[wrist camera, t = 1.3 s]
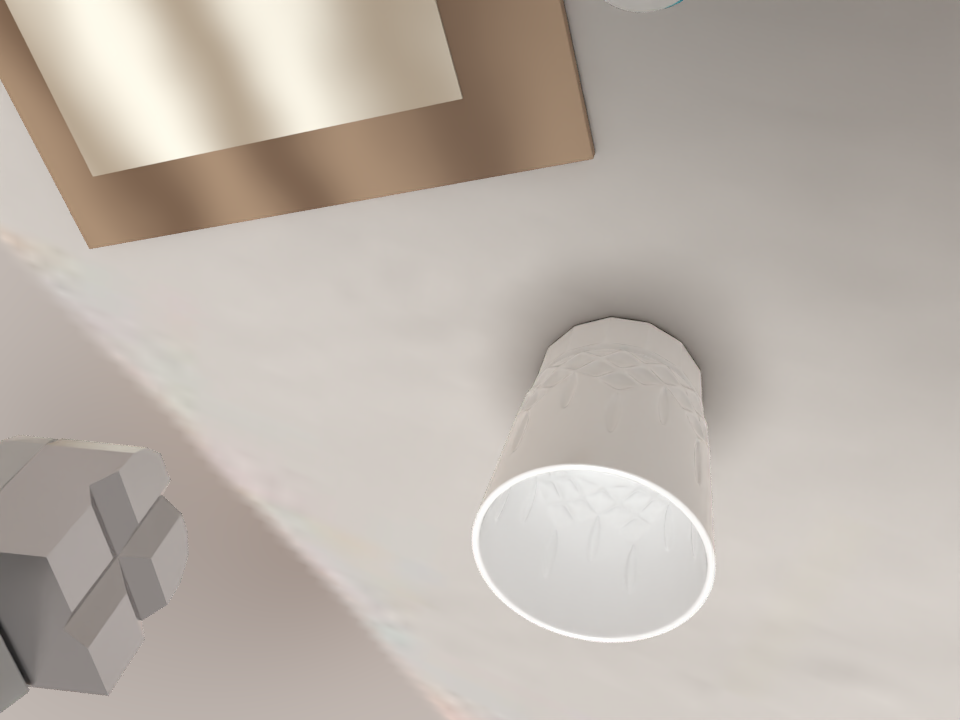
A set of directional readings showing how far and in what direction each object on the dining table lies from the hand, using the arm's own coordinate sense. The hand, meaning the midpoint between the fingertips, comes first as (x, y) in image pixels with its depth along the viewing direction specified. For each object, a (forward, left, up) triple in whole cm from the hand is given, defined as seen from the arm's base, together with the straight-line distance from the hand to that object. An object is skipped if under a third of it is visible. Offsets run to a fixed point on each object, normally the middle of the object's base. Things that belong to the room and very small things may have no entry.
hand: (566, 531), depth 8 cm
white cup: (+5, +15, -25) cm, 29 cm away
